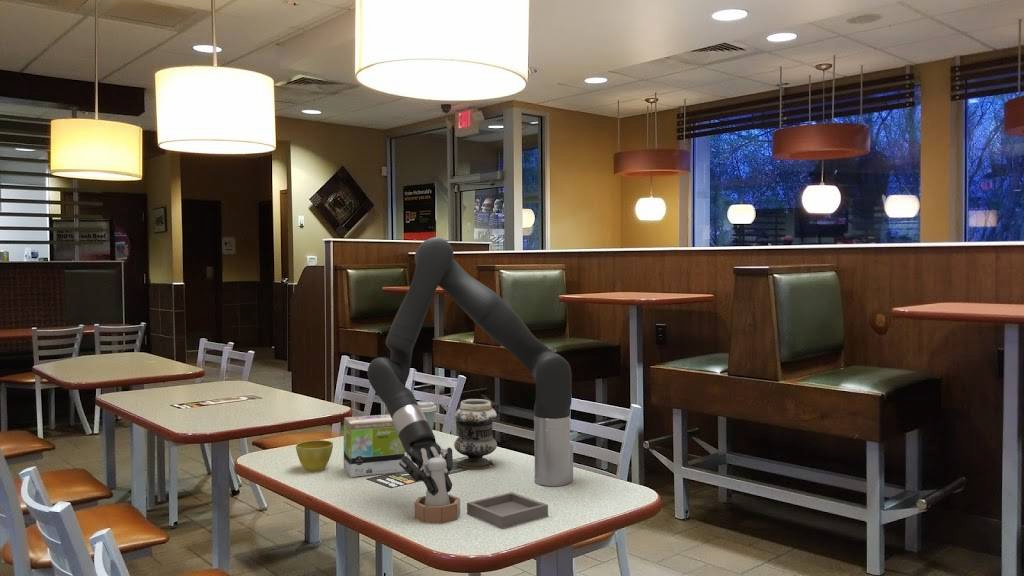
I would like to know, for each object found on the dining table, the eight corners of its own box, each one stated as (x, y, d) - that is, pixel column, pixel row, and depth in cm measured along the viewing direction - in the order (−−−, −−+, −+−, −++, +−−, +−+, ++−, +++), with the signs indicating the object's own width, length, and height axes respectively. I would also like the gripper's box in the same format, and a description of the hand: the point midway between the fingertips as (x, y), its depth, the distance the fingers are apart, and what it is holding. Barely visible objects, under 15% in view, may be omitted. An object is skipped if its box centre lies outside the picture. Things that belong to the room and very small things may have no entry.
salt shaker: (446, 520, 173) (445, 462, 172) (421, 519, 174) (420, 461, 173) (453, 512, 178) (452, 455, 178) (429, 511, 180) (428, 454, 179)
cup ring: (443, 506, 183) (443, 491, 183) (467, 516, 175) (467, 501, 175) (408, 515, 177) (407, 499, 177) (431, 526, 169) (430, 510, 169)
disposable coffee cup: (402, 447, 243) (401, 399, 243) (437, 445, 245) (436, 398, 244) (401, 455, 233) (400, 405, 232) (437, 454, 234) (437, 404, 234)
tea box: (350, 478, 208) (350, 423, 208) (343, 469, 217) (342, 416, 217) (405, 472, 214) (405, 418, 214) (396, 463, 223) (395, 412, 223)
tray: (511, 502, 186) (511, 491, 186) (548, 515, 175) (547, 504, 175) (467, 513, 178) (466, 502, 177) (502, 528, 167) (502, 516, 167)
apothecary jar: (492, 471, 214) (491, 405, 213) (449, 469, 216) (449, 404, 215) (500, 460, 226) (500, 398, 225) (460, 458, 228) (459, 397, 227)
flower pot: (337, 471, 215) (336, 445, 215) (300, 476, 211) (299, 449, 211) (328, 463, 224) (328, 438, 224) (293, 467, 220) (292, 442, 220)
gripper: (392, 423, 177) (421, 488, 168) (444, 415, 186) (475, 476, 177) (381, 442, 181) (409, 507, 172) (432, 433, 190) (461, 495, 181)
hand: (442, 491), depth 174 cm, fingers closed on salt shaker, 3 cm apart
